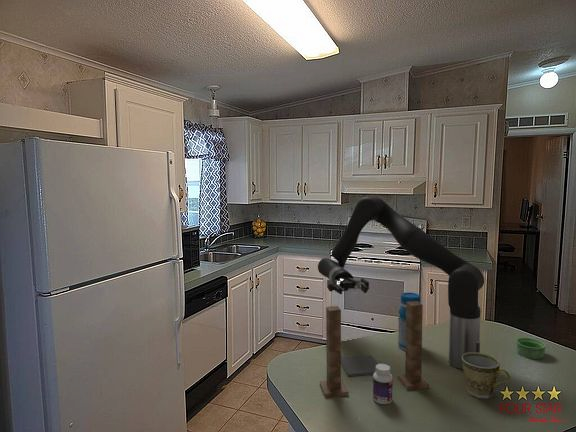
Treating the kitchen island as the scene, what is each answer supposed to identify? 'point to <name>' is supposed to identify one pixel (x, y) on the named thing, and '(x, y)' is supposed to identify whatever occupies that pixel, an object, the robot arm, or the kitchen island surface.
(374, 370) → the charcoal mat
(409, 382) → the walnut post
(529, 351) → the ramekin
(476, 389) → the ceramic cup
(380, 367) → the pill bottle
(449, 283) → the robot arm
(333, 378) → the walnut post
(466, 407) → the kitchen island surface
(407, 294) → the beverage bottle
